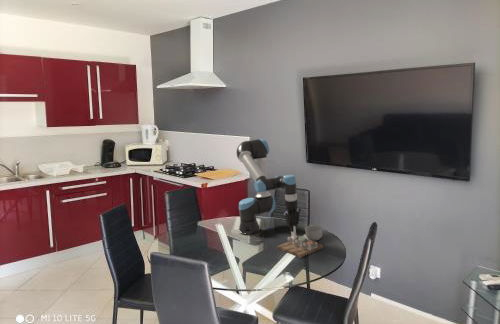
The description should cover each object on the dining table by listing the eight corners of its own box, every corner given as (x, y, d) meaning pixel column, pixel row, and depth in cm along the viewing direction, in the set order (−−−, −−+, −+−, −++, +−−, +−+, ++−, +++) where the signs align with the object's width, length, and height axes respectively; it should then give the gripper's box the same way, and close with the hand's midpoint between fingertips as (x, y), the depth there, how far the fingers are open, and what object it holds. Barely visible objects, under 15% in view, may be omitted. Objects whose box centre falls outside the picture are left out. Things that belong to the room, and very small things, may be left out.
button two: (297, 242, 229) (297, 237, 229) (302, 240, 232) (301, 235, 231) (301, 243, 226) (301, 238, 226) (306, 241, 228) (306, 237, 228)
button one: (290, 241, 235) (289, 237, 235) (294, 239, 238) (294, 235, 237) (294, 243, 232) (293, 238, 232) (298, 241, 234) (298, 236, 234)
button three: (305, 247, 224) (305, 242, 223) (310, 245, 226) (309, 240, 226) (310, 249, 221) (309, 244, 220) (315, 247, 223) (314, 242, 222)
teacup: (322, 242, 234) (321, 230, 233) (305, 242, 237) (304, 230, 235) (322, 234, 248) (322, 222, 247) (306, 234, 250) (305, 223, 249)
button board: (277, 248, 231) (277, 241, 230) (300, 239, 242) (299, 232, 241) (300, 257, 215) (299, 249, 214) (322, 247, 226) (322, 240, 225)
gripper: (287, 203, 224) (290, 240, 228) (302, 198, 231) (305, 234, 235) (279, 201, 230) (282, 237, 234) (294, 196, 237) (297, 231, 241)
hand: (293, 235), depth 234 cm, fingers closed
